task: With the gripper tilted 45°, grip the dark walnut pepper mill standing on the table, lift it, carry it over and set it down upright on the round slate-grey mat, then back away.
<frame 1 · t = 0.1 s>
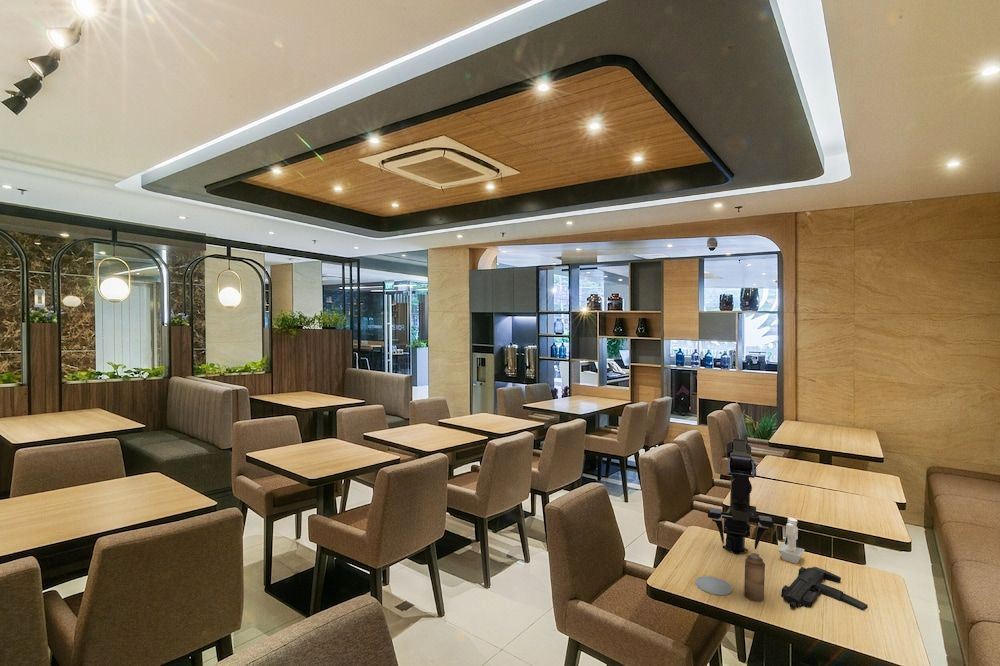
hand: (739, 546, 159), 15 cm above the table, tool pointing down, fingers open, 9 cm apart
figurine: (791, 560, 183), on the table
firearm: (826, 600, 158), on the table
pepper mill: (753, 596, 158), on the table
slate mat: (713, 586, 164), on the table
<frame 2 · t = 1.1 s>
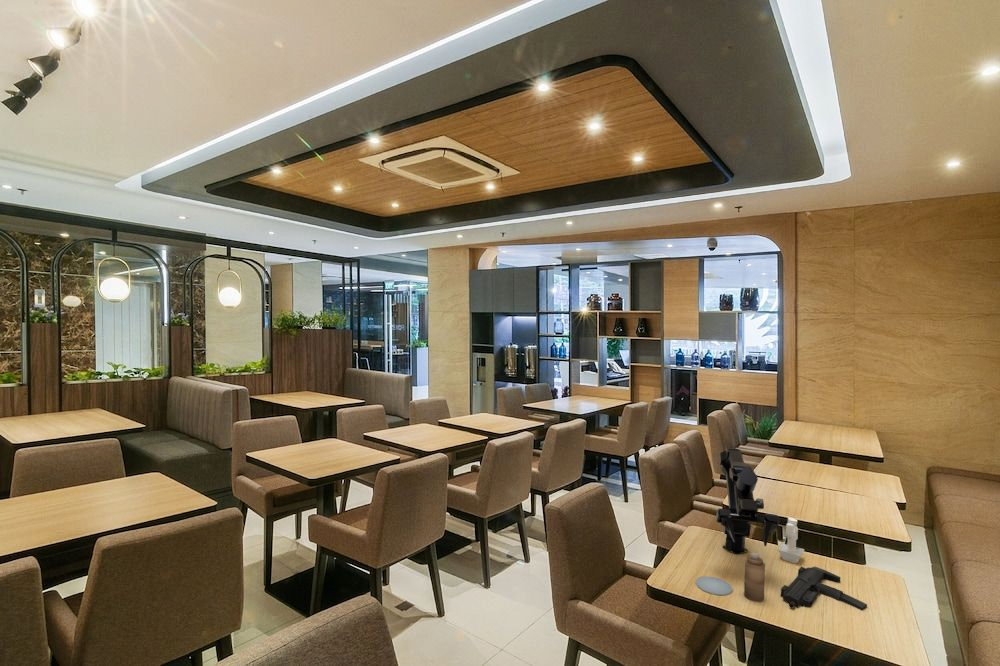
hand: (749, 543, 165), 13 cm above the table, tool tilted 45°, fingers open, 9 cm apart
nothing on the table moved.
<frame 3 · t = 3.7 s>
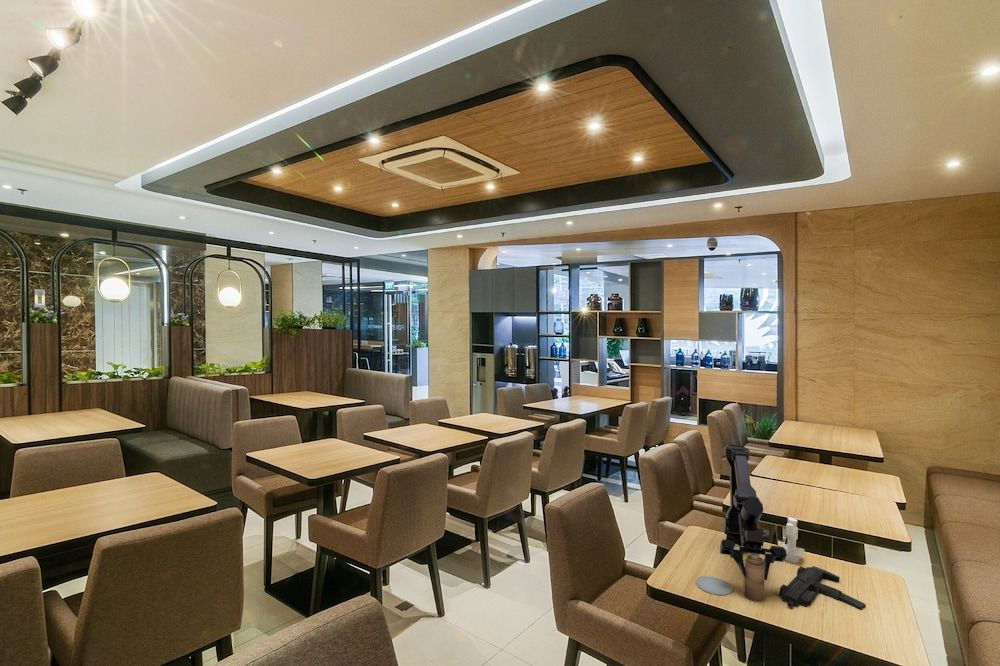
hand: (755, 578, 156), 7 cm above the table, tool tilted 45°, fingers closed on pepper mill, 6 cm apart
pepper mill: (753, 596, 158), on the table, touching gripper
everything else where it was.
when the fingers open (8 cm above the table, at t = 7.9 s): pepper mill drops 1 cm, resting on slate mat.
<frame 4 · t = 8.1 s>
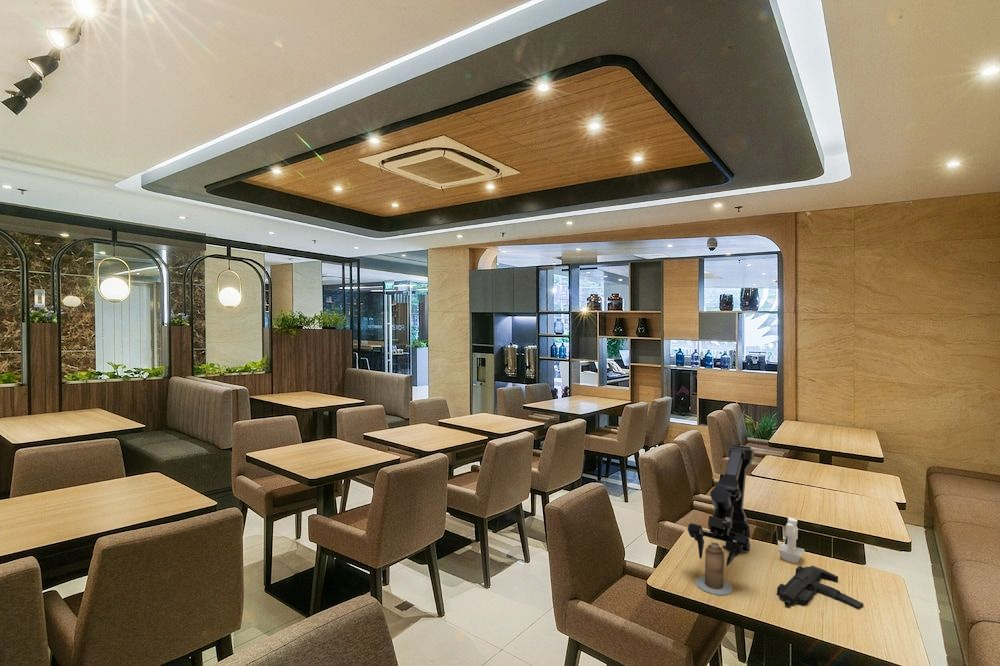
hand: (713, 561, 162), 9 cm above the table, tool tilted 45°, fingers open, 8 cm apart
pepper mill: (713, 584, 164), resting on slate mat
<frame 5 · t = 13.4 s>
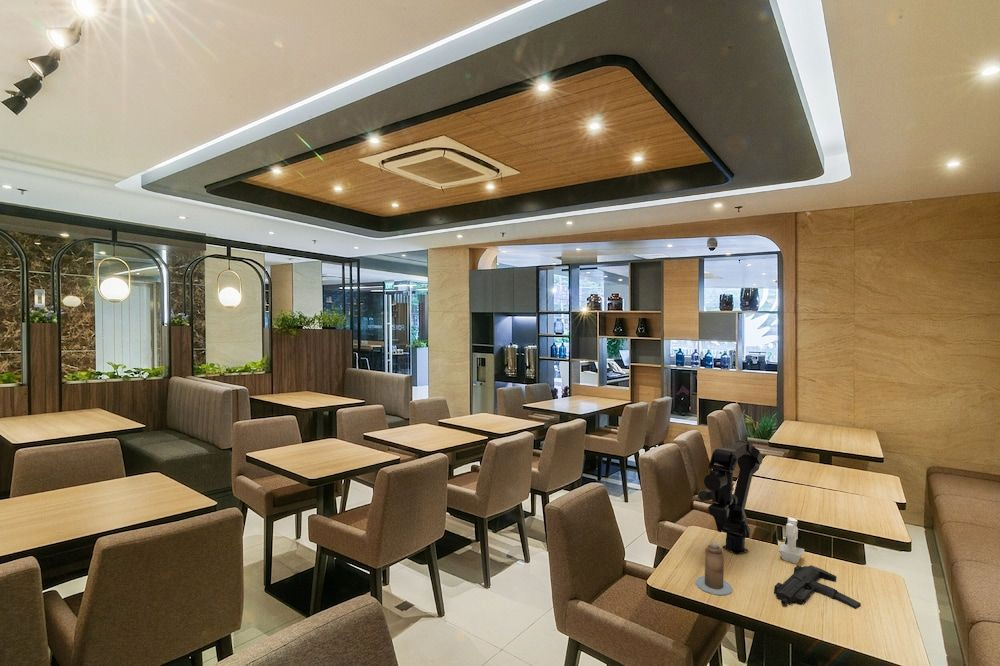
hand: (722, 527, 181), 12 cm above the table, tool pointing down, fingers open, 9 cm apart
at the end: pepper mill inside the target area on the slate mat (0.1 cm from its centre), point 0.4 cm above the slate mat's base; pepper mill tilted 0°; the gripper is holding nothing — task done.
